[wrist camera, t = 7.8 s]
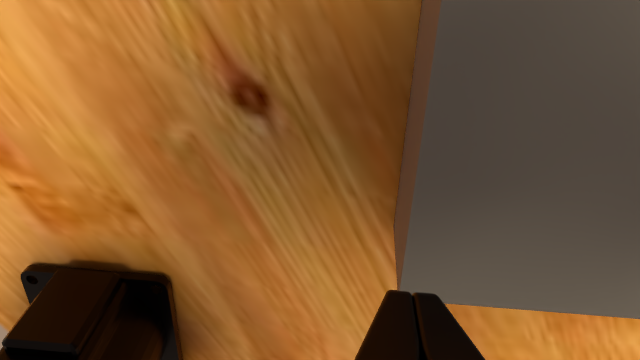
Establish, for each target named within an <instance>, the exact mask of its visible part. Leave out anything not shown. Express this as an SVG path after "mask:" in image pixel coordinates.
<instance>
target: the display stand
mask: <svg viewBox="0 0 640 360" xmlns="http://www.w3.org/2000/svg"><path fill="white" fill-rule="evenodd" d="M394 241H395V257H396V272H397V288H398V291H408V292H410V293H411V294H413V293H415V292H422V293H433V294H436V295H437V296H439V298H440V299H441V300H442V302H443V303H446V304H459V305H471V306H484V307H496V308H509V309H521V310H534V311H547V312H559V313H572V314H584V315H597V316H609V317H622V318H634V319H640V0H422V6H421V13H420V21H419V29H418V37H417V45H416V53H415V61H414V69H413V77H412V85H411V93H410V101H409V109H408V117H407V125H406V133H405V141H404V149H403V157H402V165H401V173H400V180H399V188H398V196H397V204H396V212H395V220H394Z"/></svg>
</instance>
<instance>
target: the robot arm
mask: <svg viewBox="0 0 640 360" xmlns="http://www.w3.org/2000/svg"><path fill="white" fill-rule="evenodd" d="M21 281H22V283H23V286H24V289H25V292H26V295H27V298H28V301H29V303H30V306H29V307H28V308H27V310H26V311H25V312H24V314H23V315H22V316H21V317H20V319H19V320H18V321H17V323H16V324H15V325H14V326H13V328H12V329H11V330H10V332H9V333H8V334H7V336H6V337H5V338H4V339H3V342H2V345H3V347H2V349H1V350H0V360H183V359H182V353H181V347H180V340H179V334H178V327H177V321H176V314H175V308H174V302H173V295H172V289H171V284H170V281H169V280H168V279H167V278H166V277H164V276H161V275H155V274H143V273H130V272H117V271H105V270H92V269H79V268H67V267H54V266H42V265H30V266H28V267H27V268H26V269H25V270H24V271H23V272H22V274H21ZM155 285H156V286H159V287H160V288H159V287H156V286H155ZM355 360H485V359H484V357H483V356H482V355H481V353H480V352H479V350H478V349H477V348H476V346H475V345H474V344H473V342H472V341H471V340H470V338H469V337H468V336H467V334H466V333H465V332H464V330H463V329H462V327H461V326H460V325H459V323H458V322H457V321H456V319H455V318H454V317H453V315H452V314H451V313H450V311H449V310H448V308H447V307H446V306H445V304H444V303H443V302H442V300H441V299H440V298H439V296H437V295H436V294H433V293H422V292H415V293H413V294H411V293H410V292H408V291H398V290H389V291H387V293H386V294H385V296H384V299H383V301H382V303H381V305H380V307H379V309H378V311H377V313H376V315H375V317H374V320H373V322H372V324H371V326H370V328H369V330H368V332H367V334H366V336H365V339H364V341H363V343H362V345H361V347H360V349H359V351H358V353H357V355H356V357H355Z"/></svg>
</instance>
